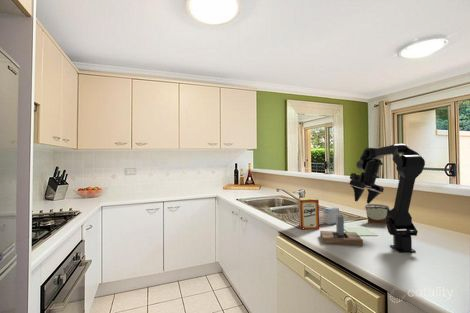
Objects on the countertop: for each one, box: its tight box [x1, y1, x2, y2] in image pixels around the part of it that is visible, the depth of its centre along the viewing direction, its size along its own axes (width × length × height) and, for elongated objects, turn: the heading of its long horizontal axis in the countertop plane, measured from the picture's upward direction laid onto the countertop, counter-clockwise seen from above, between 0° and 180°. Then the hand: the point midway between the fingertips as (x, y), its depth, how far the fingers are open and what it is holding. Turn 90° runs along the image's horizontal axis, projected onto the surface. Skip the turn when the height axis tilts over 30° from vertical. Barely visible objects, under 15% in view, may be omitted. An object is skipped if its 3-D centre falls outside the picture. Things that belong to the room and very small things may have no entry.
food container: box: [364, 203, 390, 225], centre depth 132 cm, size 12×6×10 cm, turn 74°
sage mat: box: [344, 225, 379, 237], centre depth 118 cm, size 14×12×1 cm
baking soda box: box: [297, 197, 320, 230], centre depth 126 cm, size 10×6×16 cm
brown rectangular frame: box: [319, 230, 364, 247], centre depth 105 cm, size 10×16×2 cm, turn 77°
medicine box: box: [322, 206, 340, 225], centre depth 133 cm, size 8×4×9 cm, turn 111°
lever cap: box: [335, 214, 345, 238], centre depth 105 cm, size 5×4×12 cm
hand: (361, 202), depth 115 cm, fingers open, 9 cm apart
